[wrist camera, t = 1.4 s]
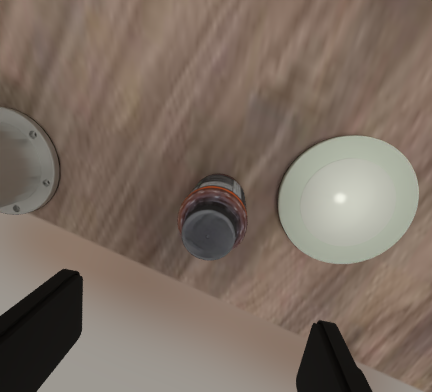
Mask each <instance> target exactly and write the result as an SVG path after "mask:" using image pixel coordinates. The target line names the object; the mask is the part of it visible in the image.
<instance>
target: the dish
mask: <svg viewBox="0 0 432 392" xmlns="http://www.w3.org/2000/svg"><path fill="white" fill-rule="evenodd" d="M418 199H419V188H418V181H417V178H416V174H415V172H414V170H413V168H412V166H411V164H410V163H409V161H408V160H407V158H406V157H405V156H404V155H403V154H402V153H401V152H400V151H399V150H397V149H396V148H395V147H393V146H392V145H390V144H388V143H386V142H384V141H381V140H379V139H376V138H371V137H367V136H340V137H334V138H331V139H327V140H324V141H322V142H320V143H317V144H315V145H314V146H312V147H310V148H309V149H307V150H306V151H305V152H303V153H302V154H301V155H300V156H299V157H298V158H297V159H296V160H295V161H294V162H293V163H292V164H291V166H290V167H289V168H288V170H287V172H286V173H285V175H284V177H283V180H282V182H281V185H280V188H279V193H278V214H279V218H280V221H281V224H282V226H283V228H284V230H285V232H286V234H287V236H288V237H289V239H290V240H291V241H292V242H293V244H294V245H295V246H296V247H297V248H298V249H300V250H301V251H302V252H304V253H305V254H307V255H309V256H310V257H312V258H315V259H317V260H320V261H323V262H328V263H334V264H350V263H357V262H361V261H365V260H368V259H371V258H373V257H375V256H377V255H379V254H381V253H383V252H384V251H386V250H388V249H389V248H390V247H391V246H393V245H394V244H395V243H396V242H397V241H398V240H399V239H400V238H401V237H402V236H403V235H404V233H405V232H406V231H407V229H408V228H409V226H410V224H411V222H412V220H413V218H414V216H415V213H416V210H417V206H418Z"/></svg>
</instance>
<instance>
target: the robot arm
mask: <svg viewBox="0 0 432 392" xmlns="http://www.w3.org/2000/svg"><path fill="white" fill-rule="evenodd" d="M58 181H59V162H58V157H57V154H56V151H55V148H54V146H53V144H52V142H51V140H50V139H49V137H48V136H47V134H46V133H45V132H44V130H43V129H42V128H41V127H40V126H39V125H38V124H37V123H36V122H35V121H34V120H32V119H31V118H29V117H28V116H26V115H25V114H23V113H21V112H19V111H16V110H14V109H10V108H5V107H0V212H1V213H5V214H12V215H19V214H26V213H29V212H32V211H35V210H37V209H39V208H41V207H42V206H44V205H45V204H46V203H47V202H48V201H49V200H50V199H51V197H52V196H53V195H54V193H55V191H56V188H57V186H58ZM82 292H83V278H82V276H80V274H79V272H78V271H73V270H68V269H62V270H61V271H59V272H58V273H57V274H55V275H54V276H53V277H51V278H50V279H49V280H48V281H46V282H45V283H43V284H42V285H41V286H39V287H38V288H37V289H35V290H34V291H33V292H32V293H30V294H29V295H28V296H26V297H25V298H24V299H22V300H21V301H20V302H19V303H17V304H16V305H14V306H13V307H12V308H10V309H9V310H8V311H6V312H5V313H4V314H2V315H1V316H0V392H37V390H38V389H39V388H40V386H41V385H42V384H43V383H44V382H45V380H46V379H47V378H48V377H49V375H50V374H51V372H53V370H54V369H55V368H56V366H57V365H58V364H59V363H60V361H61V360H62V359H63V358H64V356H65V355H66V354H67V353H68V351H69V350H70V349H71V348H72V346H73V345H74V344H75V343H76V341H77V340H78V338H79V337H80V335H81V332H82V295H83V294H82ZM296 387H297V392H372V390H371V388H370V386H369V384H368V382H367V380H366V378H365V376H364V374H363V373H362V371H361V370H360V369H359V368H358V367H357V366H356V364H355V362H354V360H353V358H352V356H351V354H350V351H349V349H348V347H347V345H346V343H345V341H344V339H343V337H342V335H341V333H340V331H339V329H338V327H337V325H336V324H335V323H331V322H326V321H321V320H319V321H318V322H317V324H316V323H313V325H312V328H311V331H310V334H309V337H308V341H307V344H306V348H305V351H304V354H303V357H302V361H301V364H300V367H299V370H298V374H297V378H296Z"/></svg>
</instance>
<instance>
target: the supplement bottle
mask: <svg viewBox="0 0 432 392" xmlns="http://www.w3.org/2000/svg"><path fill="white" fill-rule="evenodd" d="M177 222H178V229H179V232H180V235H181V237H182V241H183V243H184V246H185V247H186V249H187V250H188V251H189V252H190V253H191V254H192V255H194V256H195V257H197V258H199V259H203V260H217V259H220V258H222V257H224V256H225V255H227V254H228V253H229V252H230V251H231V250H233V249H234V248H235V247H237V246H238V245H239V244H240V242H241V241H242V240H243V238H244V236H245V233H246V230H247V211H246V204H245V196H244V192H243V190H242V188H241V186H240V185H239V183H238V182H237V181H236V180H235V179H233V178H232V177H230V176H228V175H224V174H213V175H209V176H207V177H205V178H204V179H202V180H201V181H200V182H199V183H198V184H197V185H196V186H195V188H194V189H193V190H192V191H191V192H190V194H189V195H188V196H187V198H186V199H185V200H184V202H183V203H182V205H181V207H180V210H179V213H178V220H177Z"/></svg>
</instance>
